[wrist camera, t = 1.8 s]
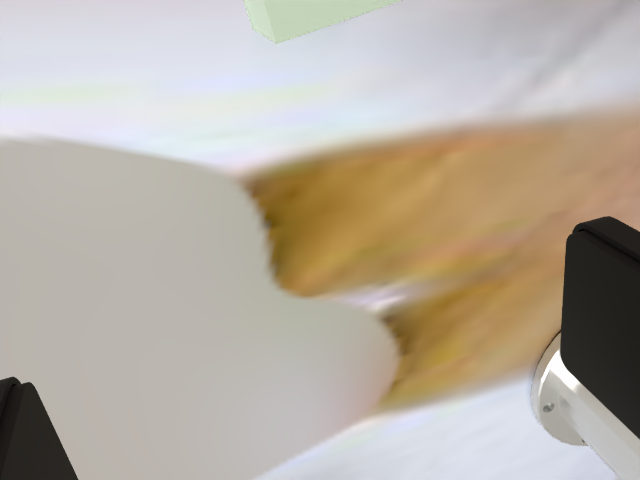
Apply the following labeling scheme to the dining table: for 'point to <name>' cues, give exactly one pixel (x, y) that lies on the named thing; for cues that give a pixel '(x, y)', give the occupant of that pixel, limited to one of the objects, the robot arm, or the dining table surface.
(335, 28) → the dining table surface
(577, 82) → the dining table surface
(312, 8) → the green cube
